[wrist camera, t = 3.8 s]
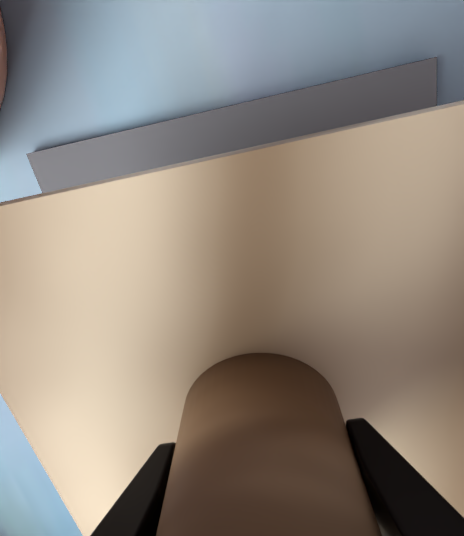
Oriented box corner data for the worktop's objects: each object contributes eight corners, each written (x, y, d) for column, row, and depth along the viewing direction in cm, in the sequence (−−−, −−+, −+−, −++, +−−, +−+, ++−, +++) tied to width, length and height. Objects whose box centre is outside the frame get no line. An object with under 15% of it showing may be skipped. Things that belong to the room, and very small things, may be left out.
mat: (431, 58, 12) (436, 56, 12) (431, 395, 18) (435, 401, 17) (32, 153, 14) (26, 153, 13) (146, 433, 19) (144, 439, 19)
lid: (525, 86, 7) (1074, 18, 2) (487, 514, 12) (643, 768, 7) (-59, 215, 8) (-428, 330, 4) (119, 549, 13) (51, 778, 9)
